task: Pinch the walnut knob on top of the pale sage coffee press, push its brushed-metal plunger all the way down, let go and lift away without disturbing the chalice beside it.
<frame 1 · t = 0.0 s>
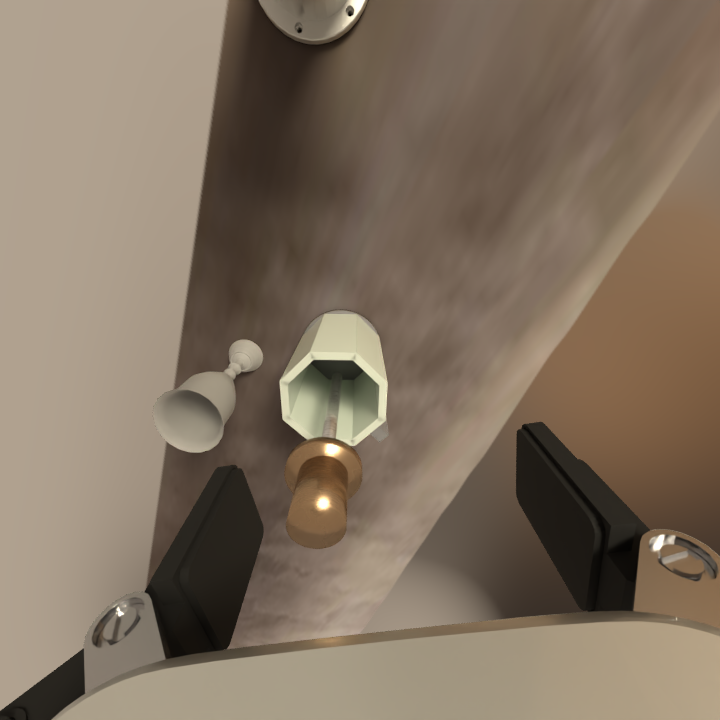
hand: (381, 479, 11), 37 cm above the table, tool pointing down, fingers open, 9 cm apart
chalice: (246, 355, 50), on the table
plunger: (330, 427, 30), point 21 cm above the table, slide at 0.0 cm
press carafe: (341, 348, 49), on the table
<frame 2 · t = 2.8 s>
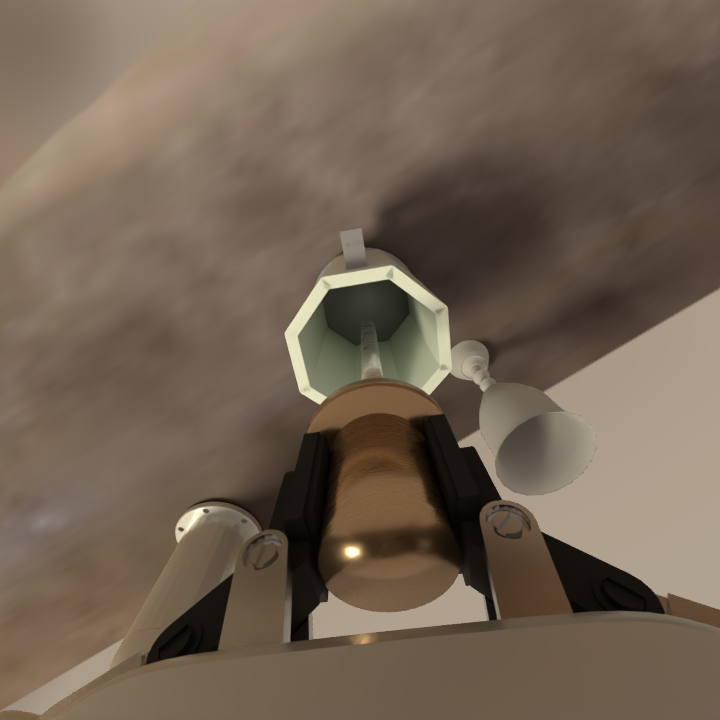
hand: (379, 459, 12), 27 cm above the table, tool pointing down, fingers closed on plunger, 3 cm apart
chalice: (467, 359, 40), on the table
plunger: (372, 381, 18), point 21 cm above the table, slide at 0.0 cm, touching gripper
press carafe: (365, 301, 38), on the table
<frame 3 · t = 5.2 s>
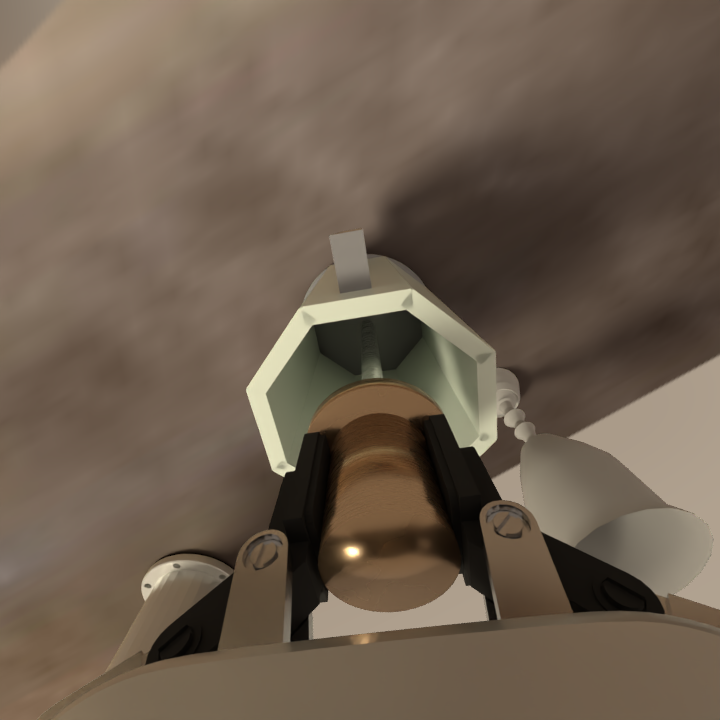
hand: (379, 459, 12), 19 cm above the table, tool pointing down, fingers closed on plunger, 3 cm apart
chalice: (492, 390, 33), on the table
plunger: (372, 381, 18), point 13 cm above the table, slide at 8.2 cm, touching gripper
press carafe: (367, 321, 30), on the table
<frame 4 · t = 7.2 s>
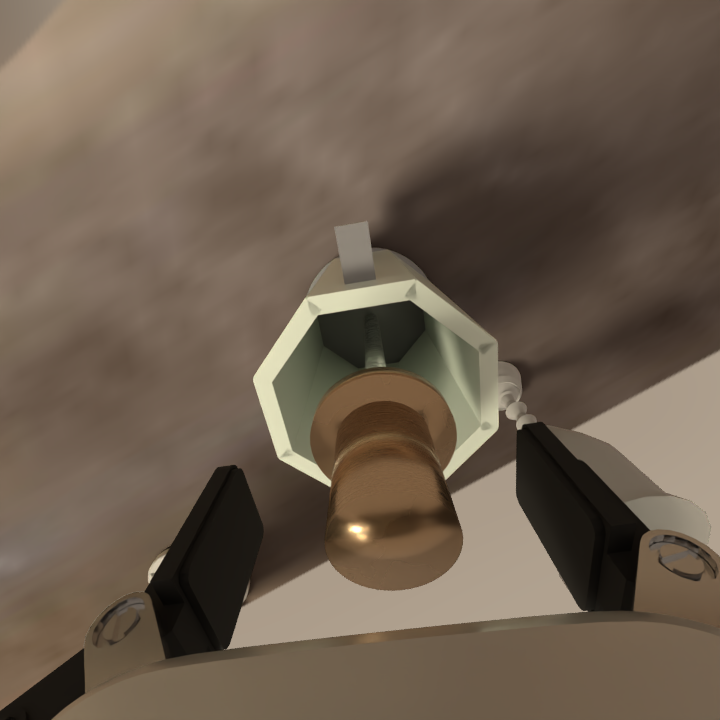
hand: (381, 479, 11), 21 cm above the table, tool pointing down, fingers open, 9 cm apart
chalice: (494, 384, 33), on the table
plunger: (376, 373, 19), point 13 cm above the table, slide at 8.1 cm
press carafe: (370, 314, 30), on the table
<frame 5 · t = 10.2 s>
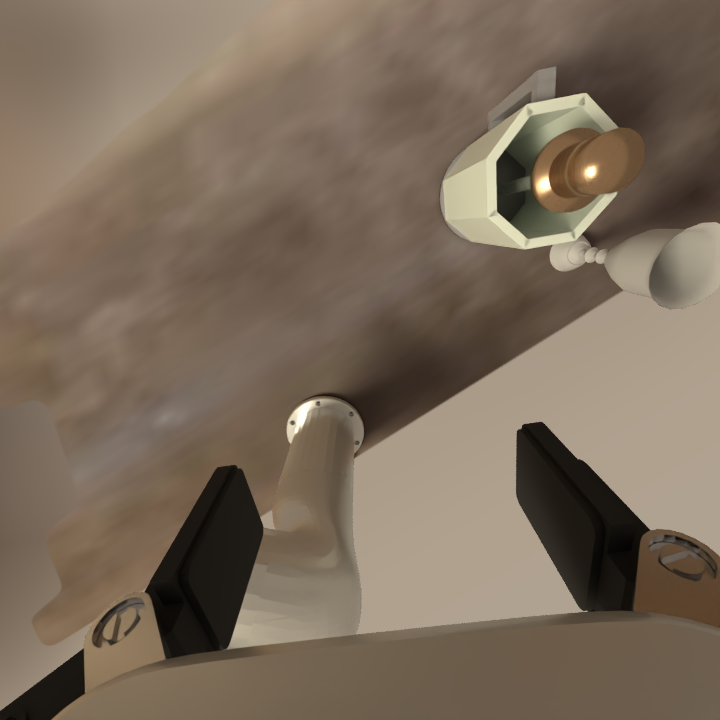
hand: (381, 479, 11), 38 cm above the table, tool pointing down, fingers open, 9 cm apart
chalice: (567, 252, 45), on the table
plunger: (532, 182, 31), point 13 cm above the table, slide at 8.1 cm
press carafe: (484, 193, 43), on the table
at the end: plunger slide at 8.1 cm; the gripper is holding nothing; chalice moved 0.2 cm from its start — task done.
